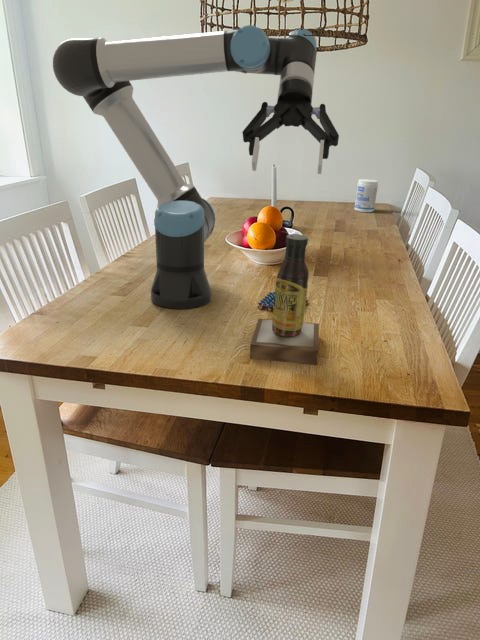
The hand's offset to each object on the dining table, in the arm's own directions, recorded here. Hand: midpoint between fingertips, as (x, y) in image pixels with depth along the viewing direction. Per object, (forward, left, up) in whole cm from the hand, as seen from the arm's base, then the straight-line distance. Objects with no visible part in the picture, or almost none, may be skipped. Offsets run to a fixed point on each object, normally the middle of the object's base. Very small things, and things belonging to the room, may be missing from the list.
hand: (286, 168), depth 101 cm
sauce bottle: (+3, -15, -31) cm, 34 cm away
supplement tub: (+31, +144, -34) cm, 151 cm away
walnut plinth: (+3, -15, -34) cm, 37 cm away
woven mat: (+1, +8, -34) cm, 35 cm away
